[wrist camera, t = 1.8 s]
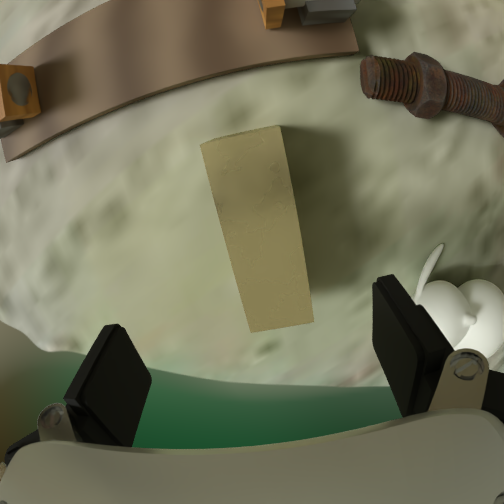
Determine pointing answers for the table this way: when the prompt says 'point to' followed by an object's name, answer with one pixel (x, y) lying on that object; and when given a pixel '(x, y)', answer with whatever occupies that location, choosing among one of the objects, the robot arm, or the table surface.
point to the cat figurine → (463, 309)
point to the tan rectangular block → (260, 226)
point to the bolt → (431, 88)
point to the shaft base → (155, 56)
